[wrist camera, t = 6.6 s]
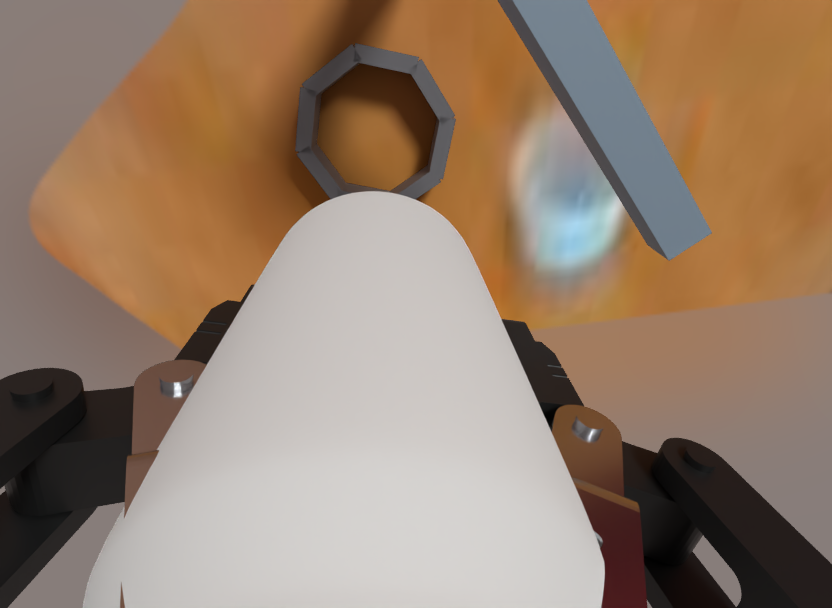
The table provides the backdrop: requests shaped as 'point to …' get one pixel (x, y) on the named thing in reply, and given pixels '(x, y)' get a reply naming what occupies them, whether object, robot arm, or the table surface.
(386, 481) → the can
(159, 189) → the table surface
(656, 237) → the swing arm
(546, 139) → the table surface
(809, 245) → the table surface
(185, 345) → the robot arm
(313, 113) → the collar
